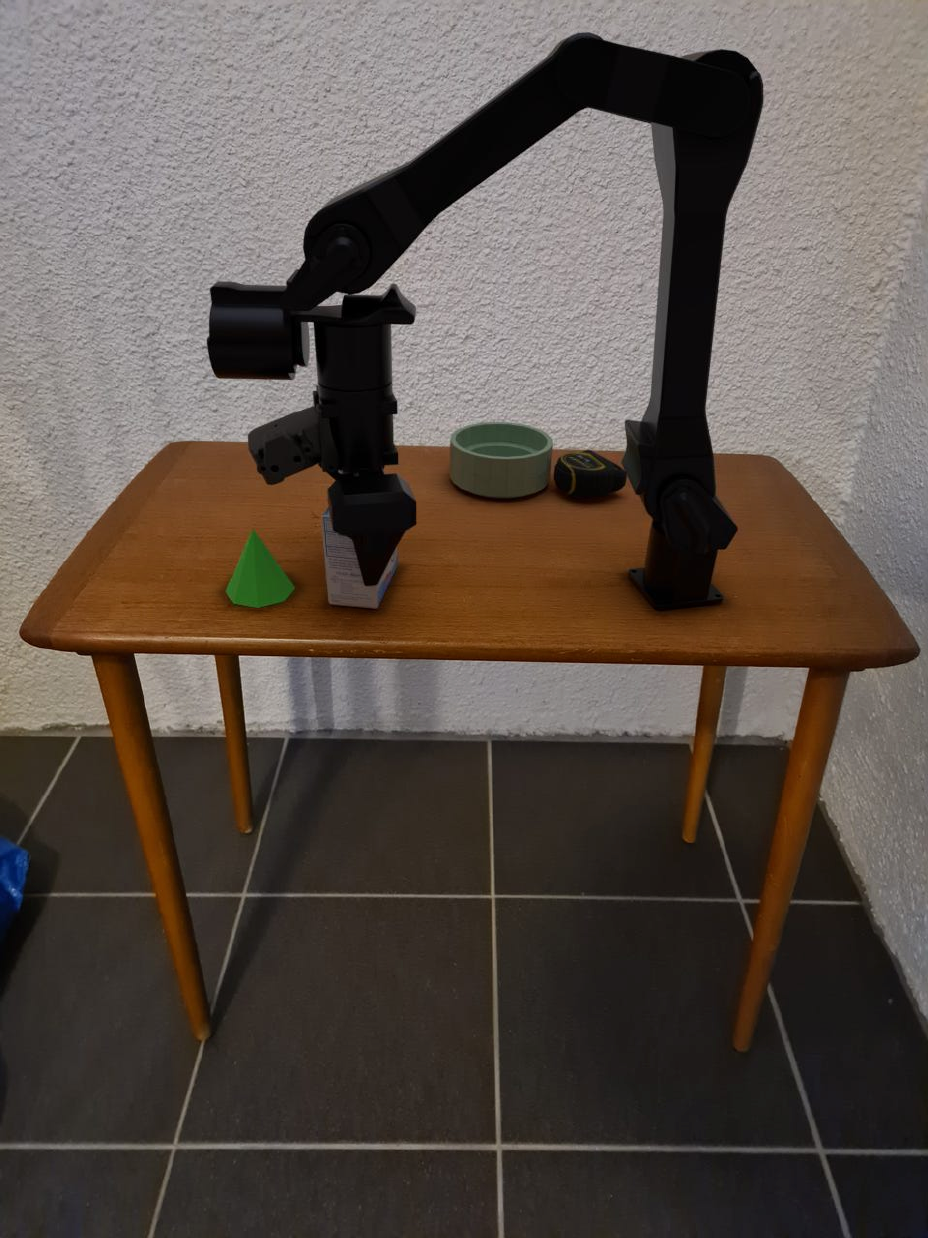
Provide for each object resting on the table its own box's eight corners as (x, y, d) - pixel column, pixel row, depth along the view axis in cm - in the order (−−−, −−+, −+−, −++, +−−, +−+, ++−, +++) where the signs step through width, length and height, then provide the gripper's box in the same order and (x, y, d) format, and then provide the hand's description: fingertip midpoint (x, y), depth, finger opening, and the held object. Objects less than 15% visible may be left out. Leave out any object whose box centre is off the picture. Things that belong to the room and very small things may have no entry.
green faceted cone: (228, 574, 74) (219, 513, 71) (296, 571, 75) (290, 511, 72) (221, 609, 69) (211, 546, 66) (294, 606, 70) (287, 543, 67)
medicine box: (377, 611, 70) (374, 518, 65) (326, 606, 70) (319, 513, 66) (398, 566, 76) (397, 479, 72) (351, 562, 77) (347, 474, 72)
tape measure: (627, 498, 90) (631, 466, 88) (575, 509, 88) (579, 476, 86) (590, 475, 95) (594, 444, 93) (540, 485, 93) (543, 454, 91)
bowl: (562, 498, 90) (567, 454, 87) (462, 506, 88) (464, 461, 85) (531, 459, 99) (534, 419, 96) (440, 466, 97) (440, 424, 94)
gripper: (245, 351, 69) (264, 519, 78) (250, 428, 54) (273, 626, 63) (377, 346, 72) (382, 510, 80) (417, 419, 56) (418, 611, 65)
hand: (363, 558), depth 72 cm, fingers closed on medicine box, 9 cm apart
